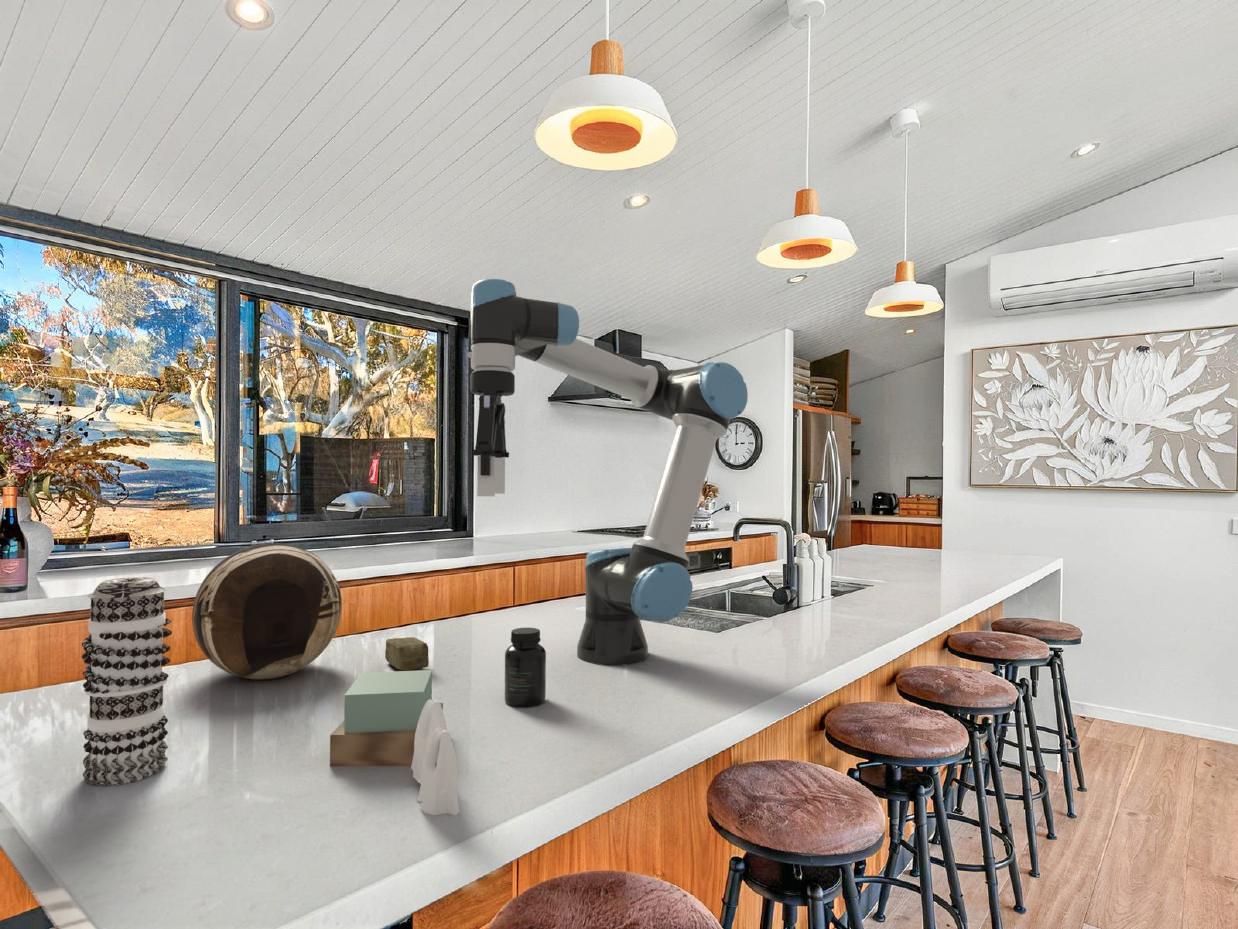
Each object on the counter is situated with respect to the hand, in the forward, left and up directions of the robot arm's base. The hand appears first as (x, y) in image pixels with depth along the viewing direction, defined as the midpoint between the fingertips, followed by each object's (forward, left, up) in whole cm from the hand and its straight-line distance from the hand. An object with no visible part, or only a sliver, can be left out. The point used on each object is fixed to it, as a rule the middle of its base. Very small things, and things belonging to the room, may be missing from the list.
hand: (491, 495), depth 119 cm
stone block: (+17, -15, -36) cm, 42 cm away
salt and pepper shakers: (+2, +37, -35) cm, 51 cm away
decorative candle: (+41, +30, -35) cm, 62 cm away
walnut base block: (+11, +23, -35) cm, 43 cm away
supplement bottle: (-6, +2, -35) cm, 36 cm away
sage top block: (+11, +23, -30) cm, 39 cm away
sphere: (+43, -13, -35) cm, 57 cm away
